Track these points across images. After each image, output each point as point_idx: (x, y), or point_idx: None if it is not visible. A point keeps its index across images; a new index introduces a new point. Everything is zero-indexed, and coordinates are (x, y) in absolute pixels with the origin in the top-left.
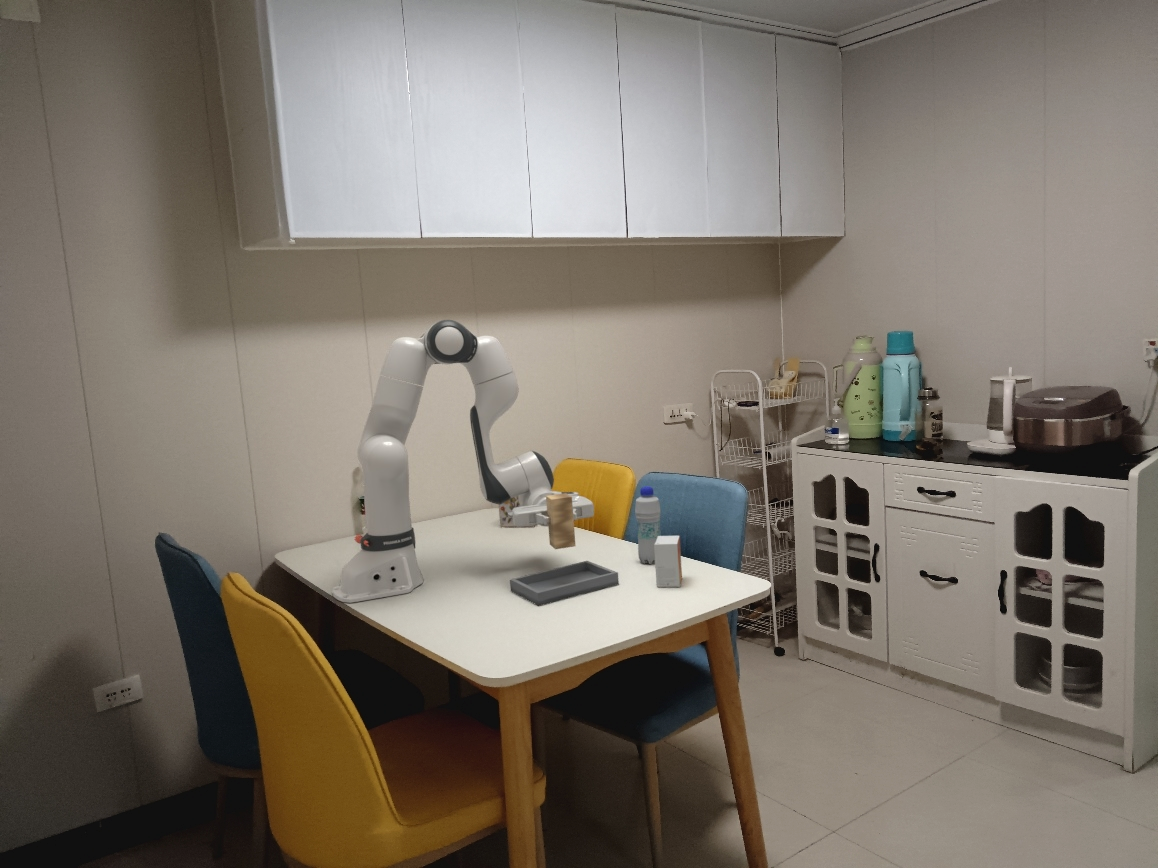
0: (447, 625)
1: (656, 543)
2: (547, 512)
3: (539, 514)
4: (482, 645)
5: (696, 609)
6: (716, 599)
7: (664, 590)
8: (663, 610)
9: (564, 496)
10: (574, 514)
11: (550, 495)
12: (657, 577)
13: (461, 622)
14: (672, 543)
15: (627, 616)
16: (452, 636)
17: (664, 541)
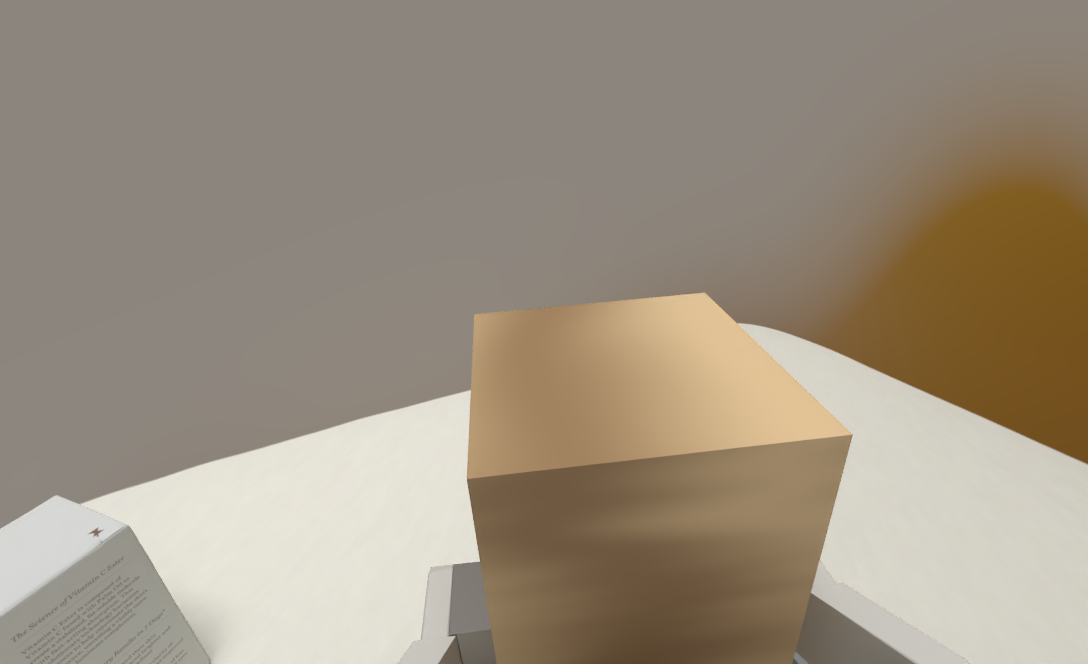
0: (1049, 527)
1: (101, 535)
2: (794, 620)
3: (923, 662)
4: (829, 401)
5: (291, 451)
6: (186, 492)
7: (222, 616)
8: (362, 464)
9: (546, 341)
10: (454, 565)
11: (764, 430)
12: (192, 632)
13: (1008, 538)
14: (61, 504)
15: (465, 454)
16: (955, 453)
17: (38, 547)
